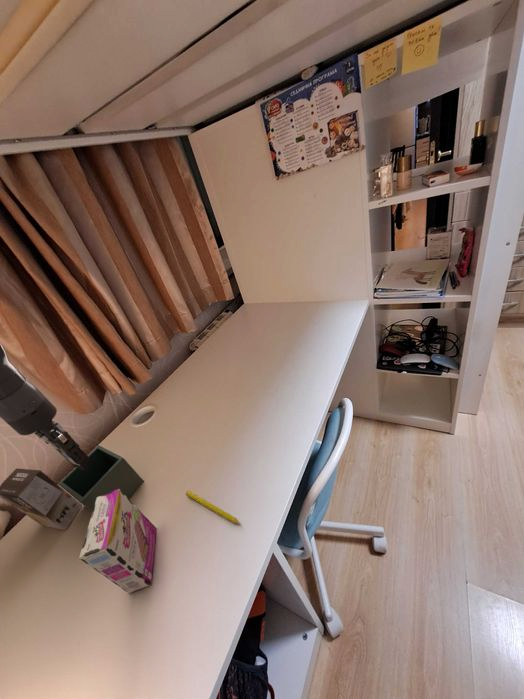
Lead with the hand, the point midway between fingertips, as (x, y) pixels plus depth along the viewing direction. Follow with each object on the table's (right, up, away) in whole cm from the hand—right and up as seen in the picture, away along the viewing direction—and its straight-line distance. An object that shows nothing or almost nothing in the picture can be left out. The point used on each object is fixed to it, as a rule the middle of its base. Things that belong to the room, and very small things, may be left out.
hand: (75, 456), depth 67 cm
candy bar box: (+19, -19, -7) cm, 28 cm away
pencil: (+32, -11, -2) cm, 34 cm away
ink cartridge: (+1, -3, +2) cm, 4 cm away
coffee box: (-8, -18, +8) cm, 22 cm away
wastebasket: (+5, -13, +9) cm, 16 cm away
